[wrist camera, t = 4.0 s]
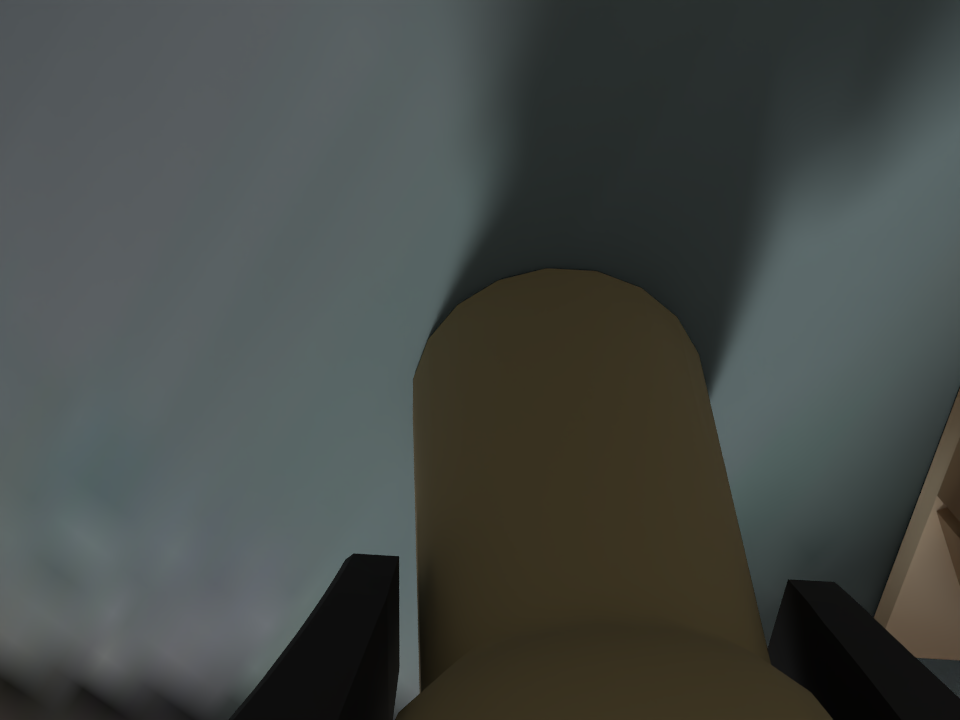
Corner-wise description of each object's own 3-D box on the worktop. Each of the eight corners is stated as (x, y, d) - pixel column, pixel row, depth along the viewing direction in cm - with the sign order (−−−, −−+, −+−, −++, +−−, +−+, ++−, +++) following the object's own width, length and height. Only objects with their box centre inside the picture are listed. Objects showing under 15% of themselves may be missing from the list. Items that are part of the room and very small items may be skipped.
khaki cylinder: (578, 201, 13) (784, 771, 3) (763, 418, 15) (1251, 1199, 5) (350, 395, 15) (62, 1122, 5) (540, 566, 17) (586, 1343, 7)
